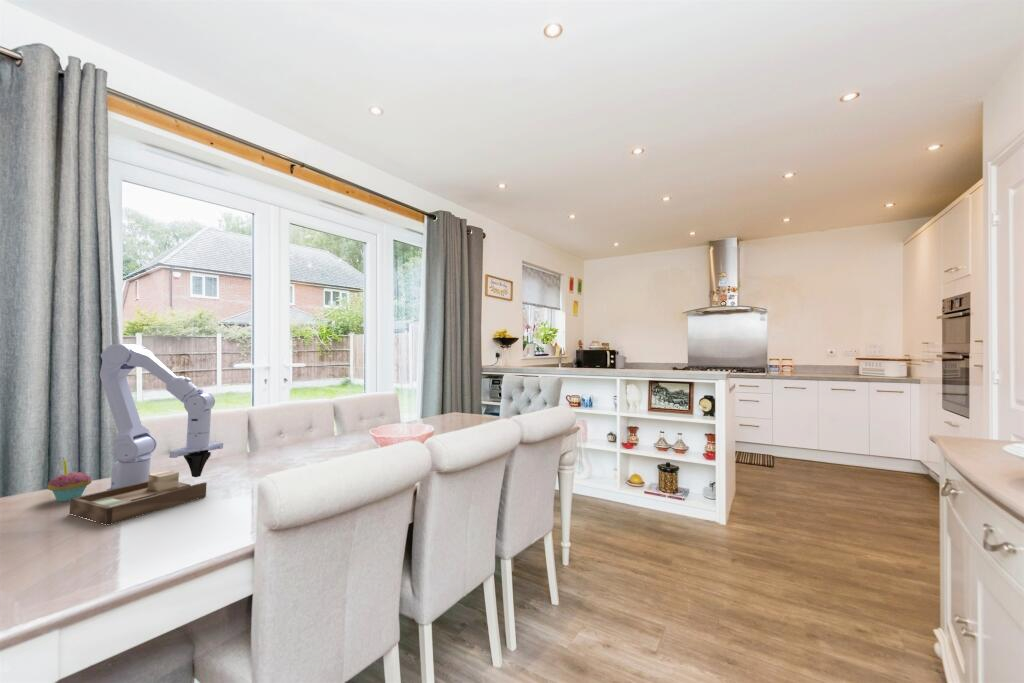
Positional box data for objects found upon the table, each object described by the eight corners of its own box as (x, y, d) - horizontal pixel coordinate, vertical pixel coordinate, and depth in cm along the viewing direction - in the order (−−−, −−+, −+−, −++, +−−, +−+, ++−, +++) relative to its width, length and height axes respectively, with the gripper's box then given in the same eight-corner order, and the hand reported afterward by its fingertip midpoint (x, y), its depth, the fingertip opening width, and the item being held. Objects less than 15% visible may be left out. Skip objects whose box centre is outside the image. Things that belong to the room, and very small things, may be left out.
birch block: (147, 488, 120) (148, 474, 120) (167, 483, 125) (168, 470, 125) (158, 491, 118) (159, 476, 118) (178, 486, 123) (178, 472, 123)
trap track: (69, 514, 106) (70, 498, 106) (170, 488, 128) (171, 475, 128) (106, 525, 101) (107, 508, 101) (205, 496, 122) (206, 482, 122)
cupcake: (67, 504, 113) (69, 459, 113) (36, 503, 113) (39, 458, 113) (99, 494, 121) (101, 452, 122) (70, 493, 122) (73, 451, 122)
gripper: (181, 437, 122) (178, 484, 122) (230, 429, 136) (228, 472, 135) (166, 435, 125) (163, 481, 124) (215, 427, 138) (213, 469, 138)
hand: (196, 476), depth 130 cm, fingers closed
